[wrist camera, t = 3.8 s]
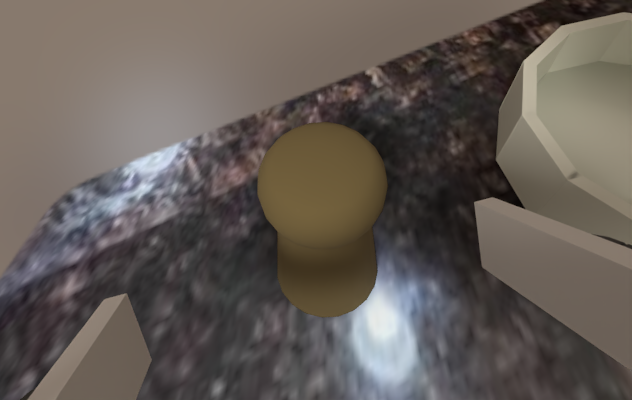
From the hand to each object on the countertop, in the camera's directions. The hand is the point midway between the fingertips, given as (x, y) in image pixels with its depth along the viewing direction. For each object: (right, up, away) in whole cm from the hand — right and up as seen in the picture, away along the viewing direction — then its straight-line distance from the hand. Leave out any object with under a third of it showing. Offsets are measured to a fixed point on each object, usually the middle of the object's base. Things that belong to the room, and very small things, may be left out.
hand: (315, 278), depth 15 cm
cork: (+1, -1, +10) cm, 10 cm away
